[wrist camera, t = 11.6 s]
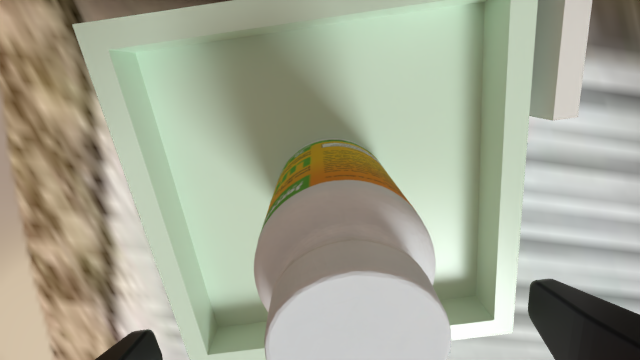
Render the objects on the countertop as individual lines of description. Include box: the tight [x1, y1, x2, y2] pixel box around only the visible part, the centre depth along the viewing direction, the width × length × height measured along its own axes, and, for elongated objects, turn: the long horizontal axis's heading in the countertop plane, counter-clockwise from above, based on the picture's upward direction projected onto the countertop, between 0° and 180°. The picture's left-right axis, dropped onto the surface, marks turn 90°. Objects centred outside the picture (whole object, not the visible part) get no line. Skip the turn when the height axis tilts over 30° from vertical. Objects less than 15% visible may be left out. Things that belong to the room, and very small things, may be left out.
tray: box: [72, 0, 538, 360], centre depth 15 cm, size 17×17×2 cm
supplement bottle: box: [254, 138, 451, 360], centre depth 11 cm, size 5×5×10 cm
